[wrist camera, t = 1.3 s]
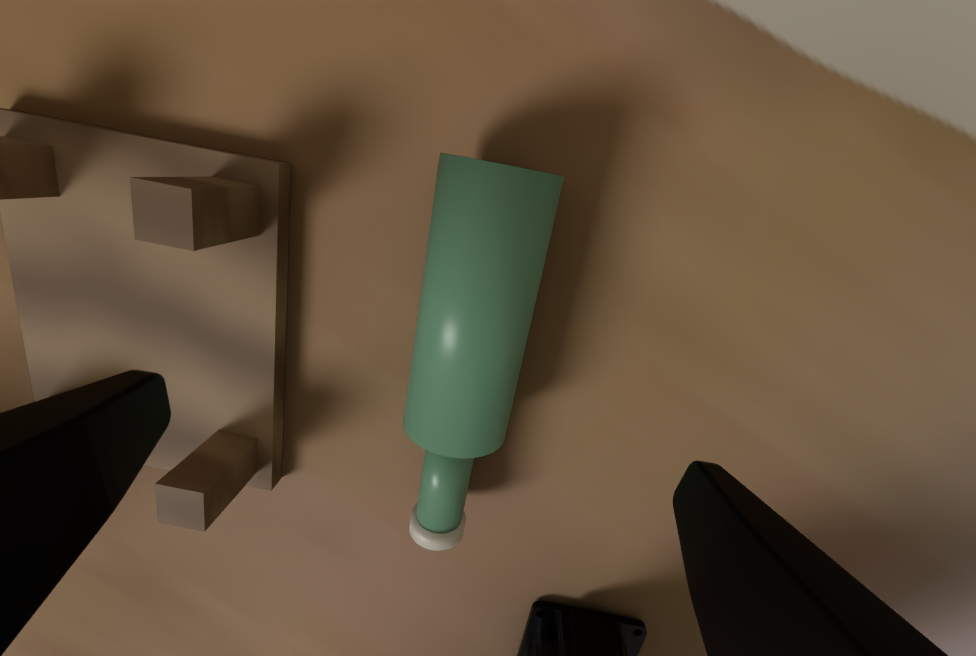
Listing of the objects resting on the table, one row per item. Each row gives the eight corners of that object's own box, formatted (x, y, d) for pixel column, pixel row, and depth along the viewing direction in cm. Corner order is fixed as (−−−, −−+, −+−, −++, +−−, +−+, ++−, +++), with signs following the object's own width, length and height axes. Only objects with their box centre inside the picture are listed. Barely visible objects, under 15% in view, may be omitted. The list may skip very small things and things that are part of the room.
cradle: (281, 478, 24) (222, 552, 19) (61, 434, 24) (-52, 499, 19) (291, 163, 19) (213, 160, 14) (8, 109, 19) (-165, 87, 14)
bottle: (431, 151, 17) (453, 154, 13) (537, 172, 19) (586, 180, 15) (386, 497, 23) (392, 572, 19) (470, 494, 24) (492, 563, 20)
